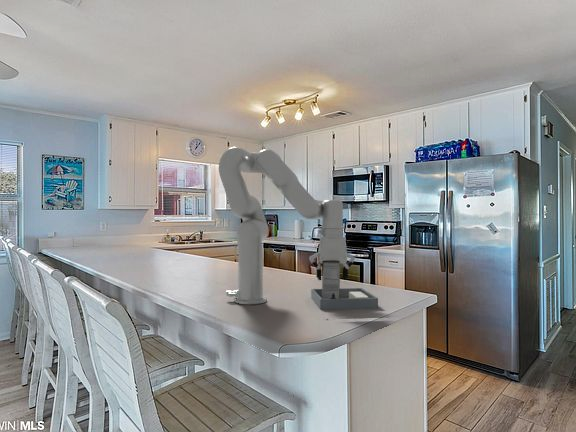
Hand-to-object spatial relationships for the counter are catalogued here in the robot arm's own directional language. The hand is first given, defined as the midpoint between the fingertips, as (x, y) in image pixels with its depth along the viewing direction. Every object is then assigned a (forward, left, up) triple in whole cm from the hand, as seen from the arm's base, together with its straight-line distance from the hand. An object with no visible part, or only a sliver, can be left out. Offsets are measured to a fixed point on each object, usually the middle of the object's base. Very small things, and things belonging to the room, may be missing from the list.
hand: (332, 279), depth 135 cm
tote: (+4, 0, -10) cm, 11 cm away
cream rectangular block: (+10, 0, -9) cm, 13 cm away
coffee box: (0, 0, -9) cm, 9 cm away
